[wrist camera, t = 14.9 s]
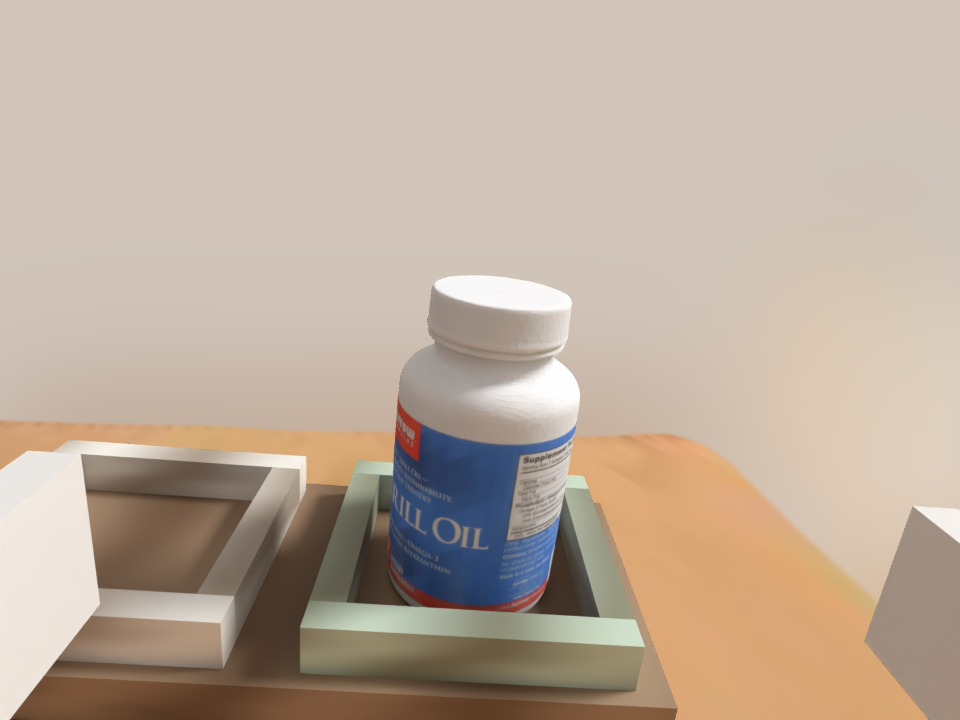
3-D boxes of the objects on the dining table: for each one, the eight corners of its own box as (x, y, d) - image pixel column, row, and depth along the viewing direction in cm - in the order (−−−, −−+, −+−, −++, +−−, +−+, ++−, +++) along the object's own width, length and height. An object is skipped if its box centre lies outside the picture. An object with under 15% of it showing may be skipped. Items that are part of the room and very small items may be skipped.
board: (-183, 709, 16) (-214, 613, 15) (60, 499, 25) (50, 432, 24) (667, 750, 17) (688, 664, 16) (594, 534, 26) (605, 471, 25)
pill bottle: (351, 569, 20) (362, 277, 17) (462, 510, 24) (487, 263, 21) (476, 665, 17) (516, 326, 14) (580, 579, 21) (630, 299, 18)
